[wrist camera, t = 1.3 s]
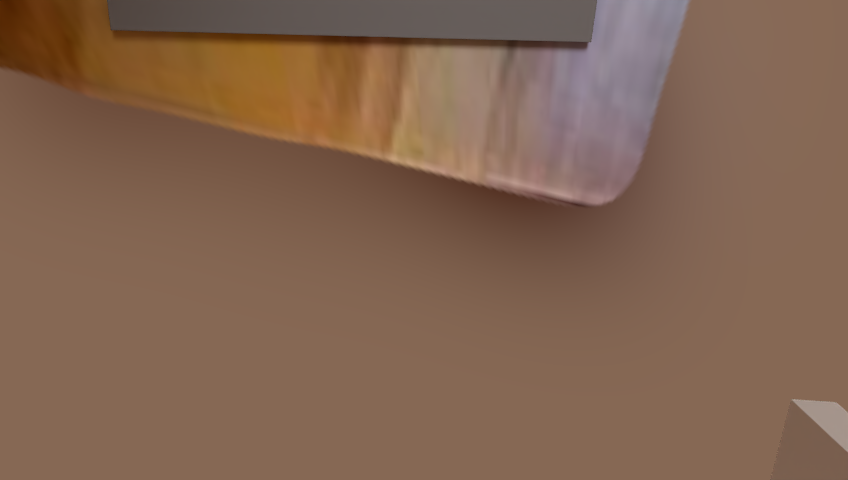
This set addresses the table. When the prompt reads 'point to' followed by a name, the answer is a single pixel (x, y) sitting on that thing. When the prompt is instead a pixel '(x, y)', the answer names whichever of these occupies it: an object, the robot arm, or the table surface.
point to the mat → (365, 18)
